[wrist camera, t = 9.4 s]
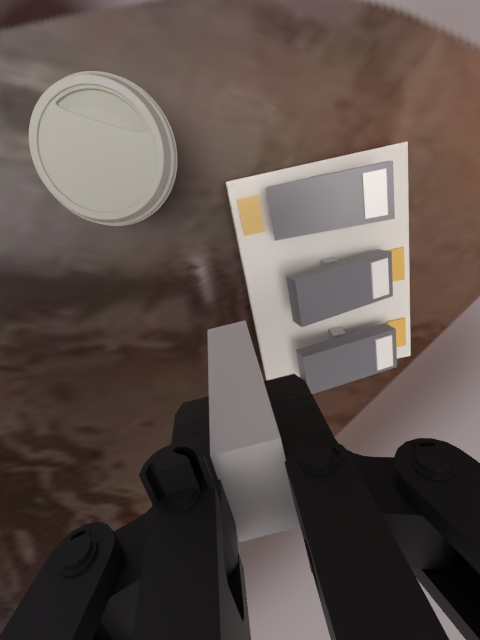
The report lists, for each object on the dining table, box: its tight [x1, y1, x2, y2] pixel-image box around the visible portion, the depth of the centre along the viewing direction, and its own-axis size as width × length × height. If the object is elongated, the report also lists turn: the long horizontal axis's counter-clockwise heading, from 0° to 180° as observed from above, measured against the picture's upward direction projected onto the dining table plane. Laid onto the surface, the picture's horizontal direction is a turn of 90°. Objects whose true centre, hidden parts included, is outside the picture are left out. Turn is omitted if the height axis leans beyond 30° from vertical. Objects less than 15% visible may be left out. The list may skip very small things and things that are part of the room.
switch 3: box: [296, 323, 397, 394], centre depth 31 cm, size 9×4×2 cm, turn 102°
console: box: [225, 142, 411, 381], centre depth 32 cm, size 15×20×6 cm
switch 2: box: [286, 249, 393, 327], centre depth 29 cm, size 9×4×2 cm, turn 102°
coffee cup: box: [29, 71, 177, 226], centre depth 25 cm, size 9×8×12 cm
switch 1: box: [266, 161, 395, 241], centre depth 26 cm, size 9×4×2 cm, turn 102°
